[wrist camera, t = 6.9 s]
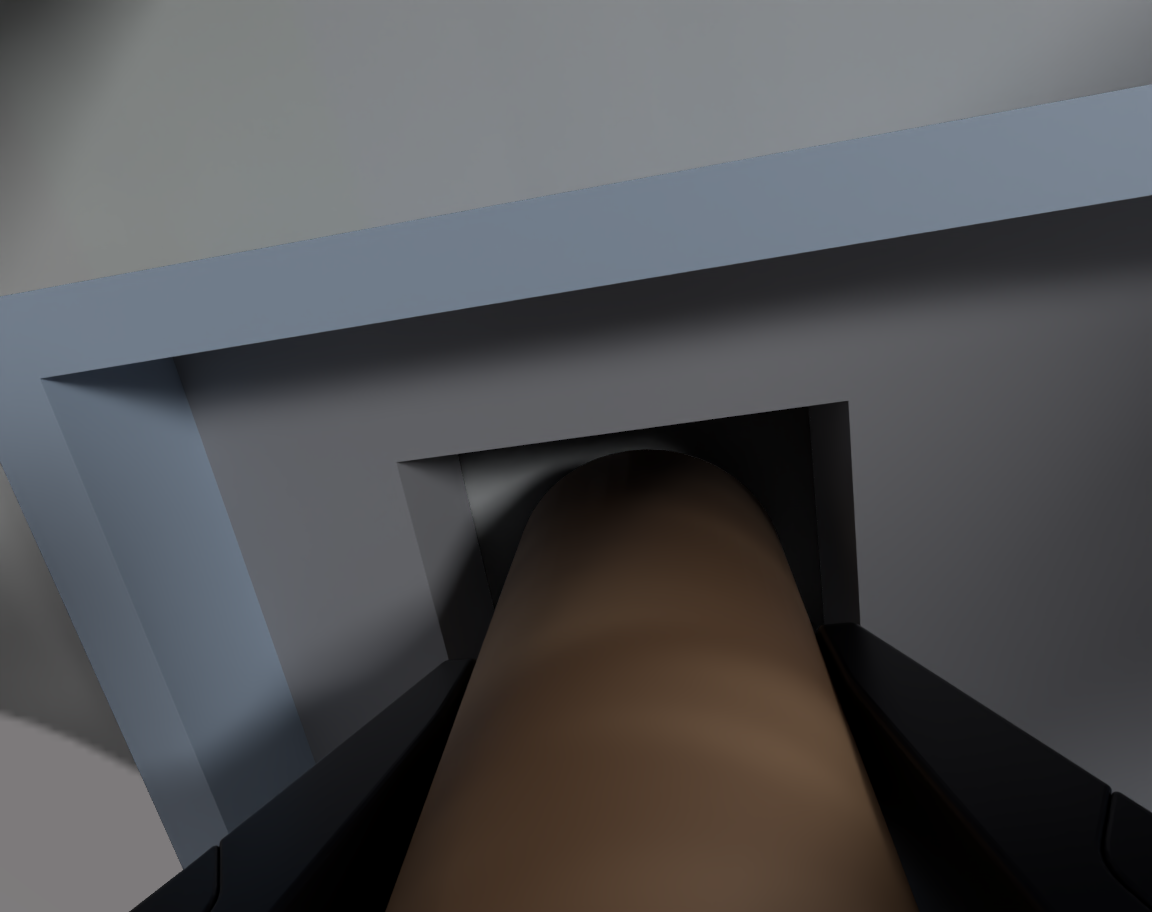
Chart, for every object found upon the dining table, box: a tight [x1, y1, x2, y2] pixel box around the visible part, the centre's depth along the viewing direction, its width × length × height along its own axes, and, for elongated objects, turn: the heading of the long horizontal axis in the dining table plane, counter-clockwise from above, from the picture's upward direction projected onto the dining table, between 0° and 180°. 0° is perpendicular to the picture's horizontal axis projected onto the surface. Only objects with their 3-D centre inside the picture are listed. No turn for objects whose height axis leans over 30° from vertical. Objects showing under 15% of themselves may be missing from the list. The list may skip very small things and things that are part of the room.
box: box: [0, 84, 1152, 870], centre depth 10 cm, size 16×11×4 cm
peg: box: [385, 449, 919, 912], centre depth 7 cm, size 4×4×9 cm
